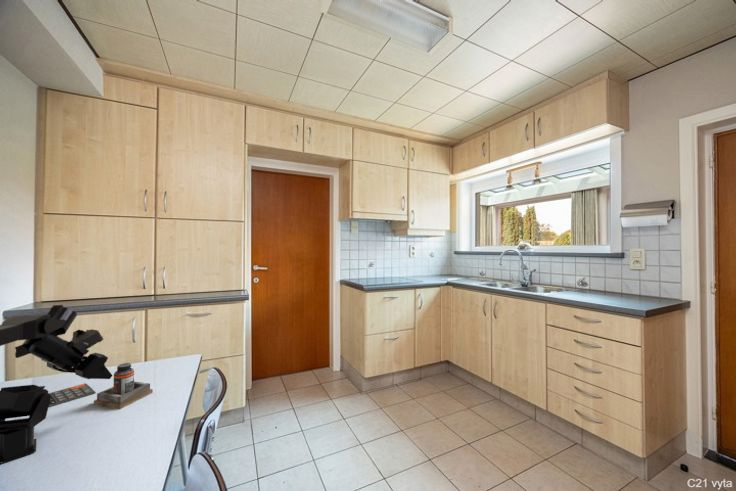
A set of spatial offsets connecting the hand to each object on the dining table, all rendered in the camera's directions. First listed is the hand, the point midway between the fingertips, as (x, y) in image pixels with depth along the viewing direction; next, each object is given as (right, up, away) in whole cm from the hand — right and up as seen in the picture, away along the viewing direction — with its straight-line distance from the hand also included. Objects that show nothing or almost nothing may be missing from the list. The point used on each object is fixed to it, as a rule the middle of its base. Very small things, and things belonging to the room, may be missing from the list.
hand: (101, 374), depth 89 cm
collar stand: (+2, -10, +6) cm, 12 cm away
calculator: (-19, -11, +7) cm, 23 cm away
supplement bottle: (+2, -9, +6) cm, 11 cm away
